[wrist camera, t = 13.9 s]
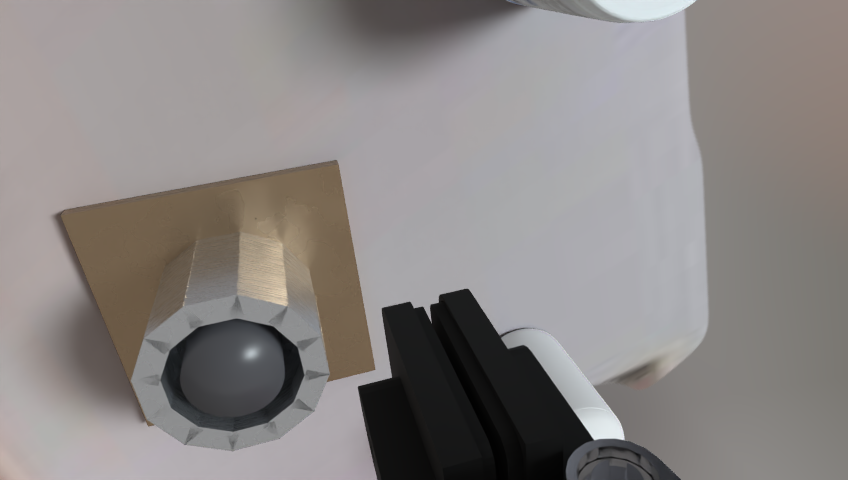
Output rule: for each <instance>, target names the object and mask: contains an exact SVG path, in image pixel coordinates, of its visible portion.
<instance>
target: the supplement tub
mask: <svg viewBox="0 0 848 480" xmlns="http://www.w3.org/2000/svg"><path fill="white" fill-rule="evenodd" d="M506 1H509V2H512V3H515V4H519V5H524V6H528V7H534V8H539V9H544V10H549V11H554V12H559V13H565V14H570V15H575V16H581V17H586V18H592V19H598V20H603V21H610V22H617V23H631V22H650V21H656V20H660V19H664V18H666V17H669V16H672V15H674V14H676V13H678V12H680V11H681V10H683V9H685V8H687V7H688V6H689V5H691V4H692V3H694V2H695V1H696V0H506Z"/></svg>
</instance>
